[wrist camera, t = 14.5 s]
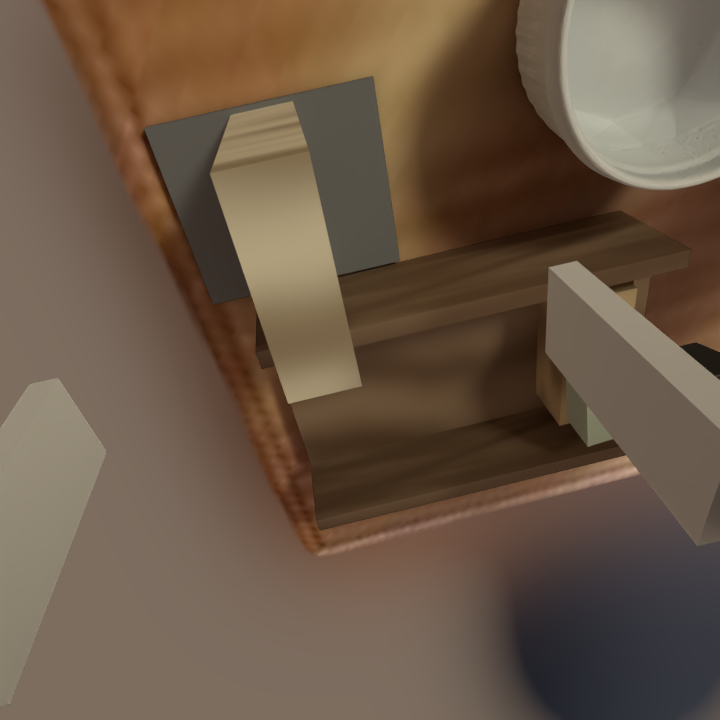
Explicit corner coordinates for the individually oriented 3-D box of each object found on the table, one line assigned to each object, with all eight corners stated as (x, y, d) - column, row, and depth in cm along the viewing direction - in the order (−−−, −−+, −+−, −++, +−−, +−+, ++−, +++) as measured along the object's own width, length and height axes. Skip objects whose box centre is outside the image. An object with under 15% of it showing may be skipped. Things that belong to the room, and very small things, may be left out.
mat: (145, 127, 24) (143, 128, 24) (371, 76, 25) (373, 77, 24) (213, 301, 30) (213, 304, 29) (398, 258, 30) (399, 261, 30)
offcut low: (538, 277, 31) (566, 304, 28) (602, 262, 31) (637, 287, 28) (535, 392, 36) (559, 425, 33) (591, 379, 36) (619, 411, 33)
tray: (257, 295, 30) (255, 352, 25) (620, 210, 30) (691, 249, 25) (312, 461, 38) (319, 530, 33) (599, 391, 38) (650, 449, 33)
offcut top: (563, 330, 29) (586, 355, 27) (625, 311, 29) (653, 334, 27) (567, 419, 33) (587, 446, 31) (621, 403, 33) (645, 428, 31)
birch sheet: (230, 114, 24) (209, 173, 15) (292, 101, 24) (308, 150, 15) (280, 284, 29) (288, 403, 20) (332, 272, 29) (362, 386, 20)
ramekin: (595, 204, 30) (673, 248, 24) (434, 45, 24) (485, 53, 19) (802, -17, 25) (959, -26, 20) (662, -281, 20) (827, -404, 14)
